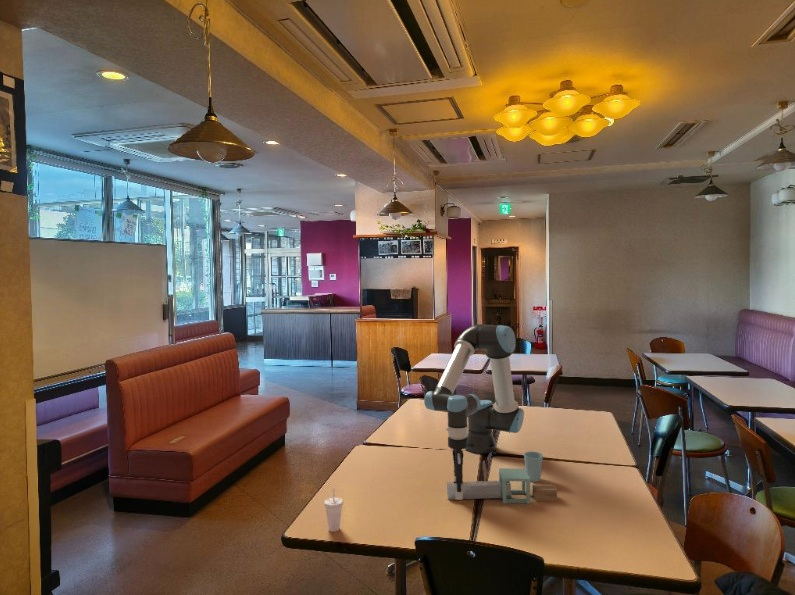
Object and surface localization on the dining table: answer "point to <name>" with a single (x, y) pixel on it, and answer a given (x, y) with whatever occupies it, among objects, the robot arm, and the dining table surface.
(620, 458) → the dining table surface
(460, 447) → the robot arm
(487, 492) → the grey bar
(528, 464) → the cup
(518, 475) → the bridge
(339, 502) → the smoothie
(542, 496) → the walnut block
